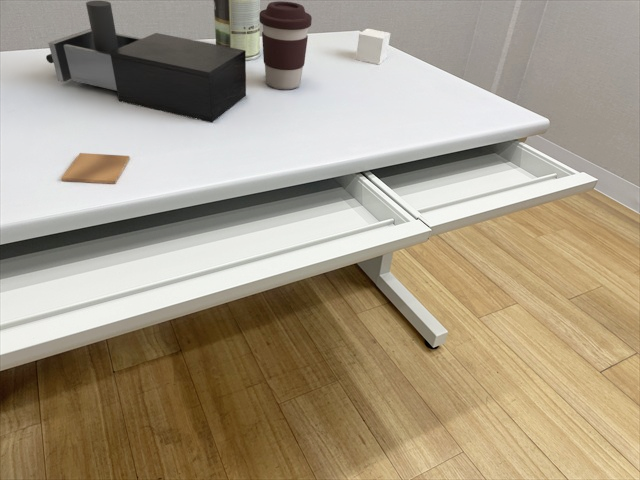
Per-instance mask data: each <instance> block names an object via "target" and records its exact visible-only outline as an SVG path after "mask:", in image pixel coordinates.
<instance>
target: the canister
mask: <svg viewBox="0 0 640 480" xmlns="http://www.w3.org/2000/svg"><path fill="white" fill-rule="evenodd" d="M85 6H86V10H87V16H88V21H89V26H90V29H91V31H92V36H93V41H94V46H95V50H96V51H101V52H106V53H110V52H111V51H113V50H116V49H118V42H117V37H116V33H117V32H116V31H117V30H116V26H115V20H114V14H113V9H112V3H111V2H109V1H107V0H90V1H87V2H86V3H85Z"/></svg>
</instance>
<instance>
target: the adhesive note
mask: <svg viewBox="0 0 640 480" xmlns="http://www.w3.org/2000/svg"><path fill="white" fill-rule="evenodd" d="M390 38H391V32H386V31H382V30H378V29H372V28H368V27H367V28H366V29H364V30H363V31H361V32H359V34H358V38H357V39H358V40H357V47H356V56H355V60H356V61H361V62H364V63H368V64H369V63H370V64H373V65H377V66H379V65H380V64H382V63H383V62H384V61H385V60H386V59H387V56H388V49H389V46H390V45H389V44H390Z"/></svg>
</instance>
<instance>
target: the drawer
mask: <svg viewBox="0 0 640 480" xmlns="http://www.w3.org/2000/svg"><path fill="white" fill-rule="evenodd" d="M116 37H117V42H118V48H120V47H123V46H125V45H128V44H130V43H133V42H135V41H138V40H140V39H142V38H143V37H137V36H132V35H127V34H122V33H117V32H116ZM48 46H49V51H50V54H47V55H46V56H45V59H46V62H47V63H49V64H53V66H54V70H55V73H56V77H57V81H58V82H62V83H64V82H67V81H69V80H71V81H73V82H76V83H81V84H85V85H90V86H94V87H98V88H103V89H108V90H111V91H116V92H117V88H116V82H115V77H114V72H113V66H112V61H111V56H110V53H106V52H101V51H96V50H95V46H94V41H93V36H92V31H91V28H88V29H85V30H82V31H79V32H76V33H73V34H70V35H67V36H64V37H61V38H59V39H55V40H52V41H49V42H48Z"/></svg>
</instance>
